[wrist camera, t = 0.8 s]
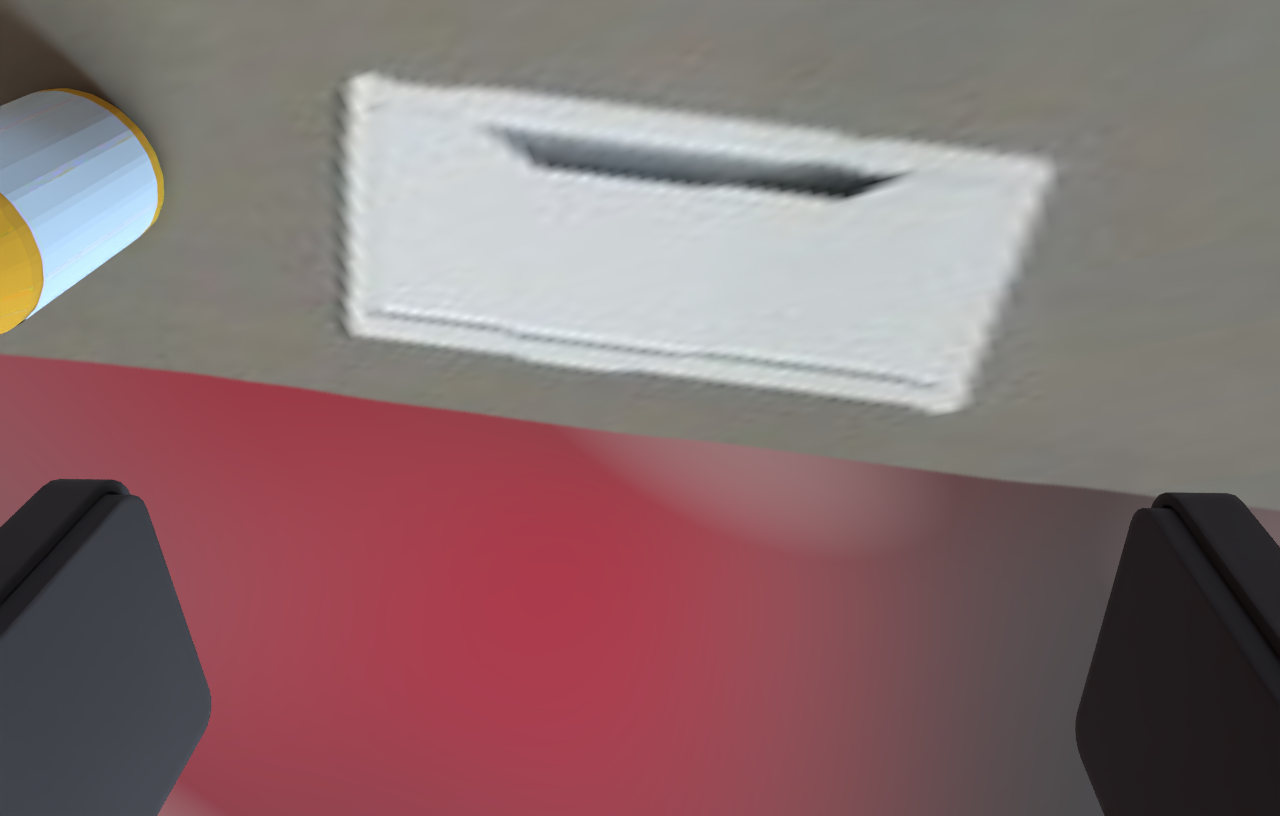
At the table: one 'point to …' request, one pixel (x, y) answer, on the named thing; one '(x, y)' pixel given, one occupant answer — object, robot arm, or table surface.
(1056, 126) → the table surface
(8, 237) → the bottle
